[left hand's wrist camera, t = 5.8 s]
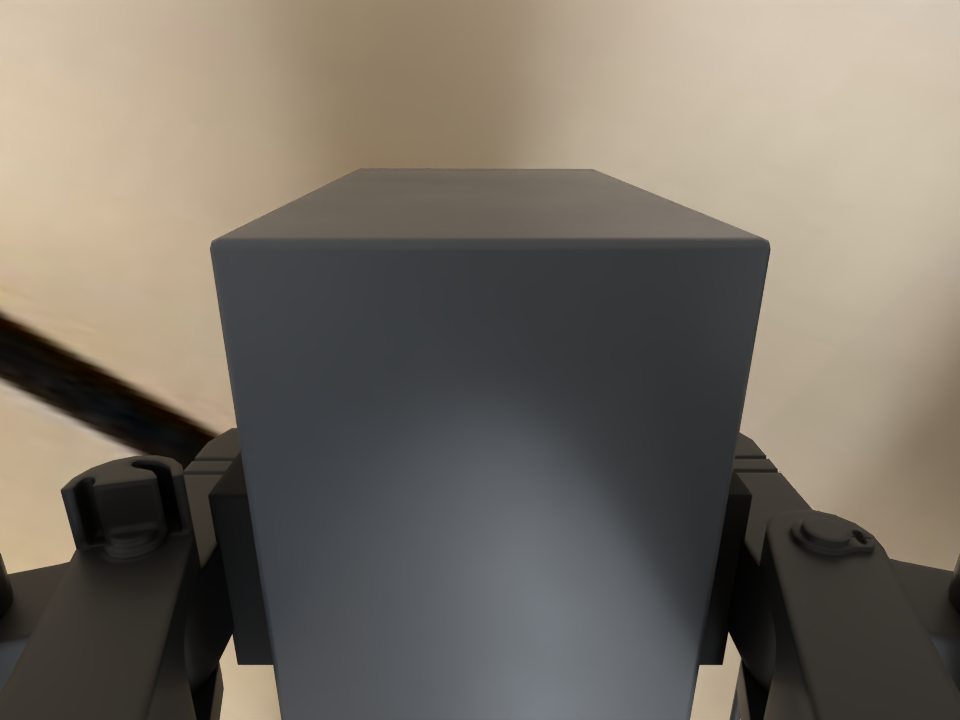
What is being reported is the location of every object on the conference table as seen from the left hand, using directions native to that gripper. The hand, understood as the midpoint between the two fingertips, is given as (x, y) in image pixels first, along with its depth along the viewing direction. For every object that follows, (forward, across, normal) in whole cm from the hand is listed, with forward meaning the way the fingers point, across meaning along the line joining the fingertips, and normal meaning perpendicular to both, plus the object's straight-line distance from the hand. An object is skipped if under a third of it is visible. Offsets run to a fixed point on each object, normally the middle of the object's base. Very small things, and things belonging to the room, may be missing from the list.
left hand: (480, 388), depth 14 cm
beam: (+1, 0, -35) cm, 35 cm away
